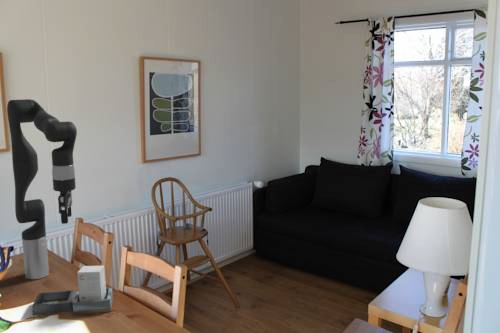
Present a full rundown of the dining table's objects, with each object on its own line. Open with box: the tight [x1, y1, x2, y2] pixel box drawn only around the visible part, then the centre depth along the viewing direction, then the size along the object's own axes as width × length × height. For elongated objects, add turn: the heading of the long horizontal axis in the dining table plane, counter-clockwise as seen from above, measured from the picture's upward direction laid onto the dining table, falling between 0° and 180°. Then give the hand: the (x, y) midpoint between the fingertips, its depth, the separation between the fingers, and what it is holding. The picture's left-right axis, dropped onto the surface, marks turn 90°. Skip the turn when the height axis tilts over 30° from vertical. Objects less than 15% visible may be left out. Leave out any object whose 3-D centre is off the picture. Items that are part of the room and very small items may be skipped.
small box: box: [76, 265, 107, 302], centre depth 163 cm, size 8×6×13 cm
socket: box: [31, 289, 76, 316], centre depth 163 cm, size 11×12×4 cm
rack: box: [72, 286, 114, 317], centre depth 163 cm, size 12×13×4 cm
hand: (66, 219), depth 164 cm, fingers open, 8 cm apart
